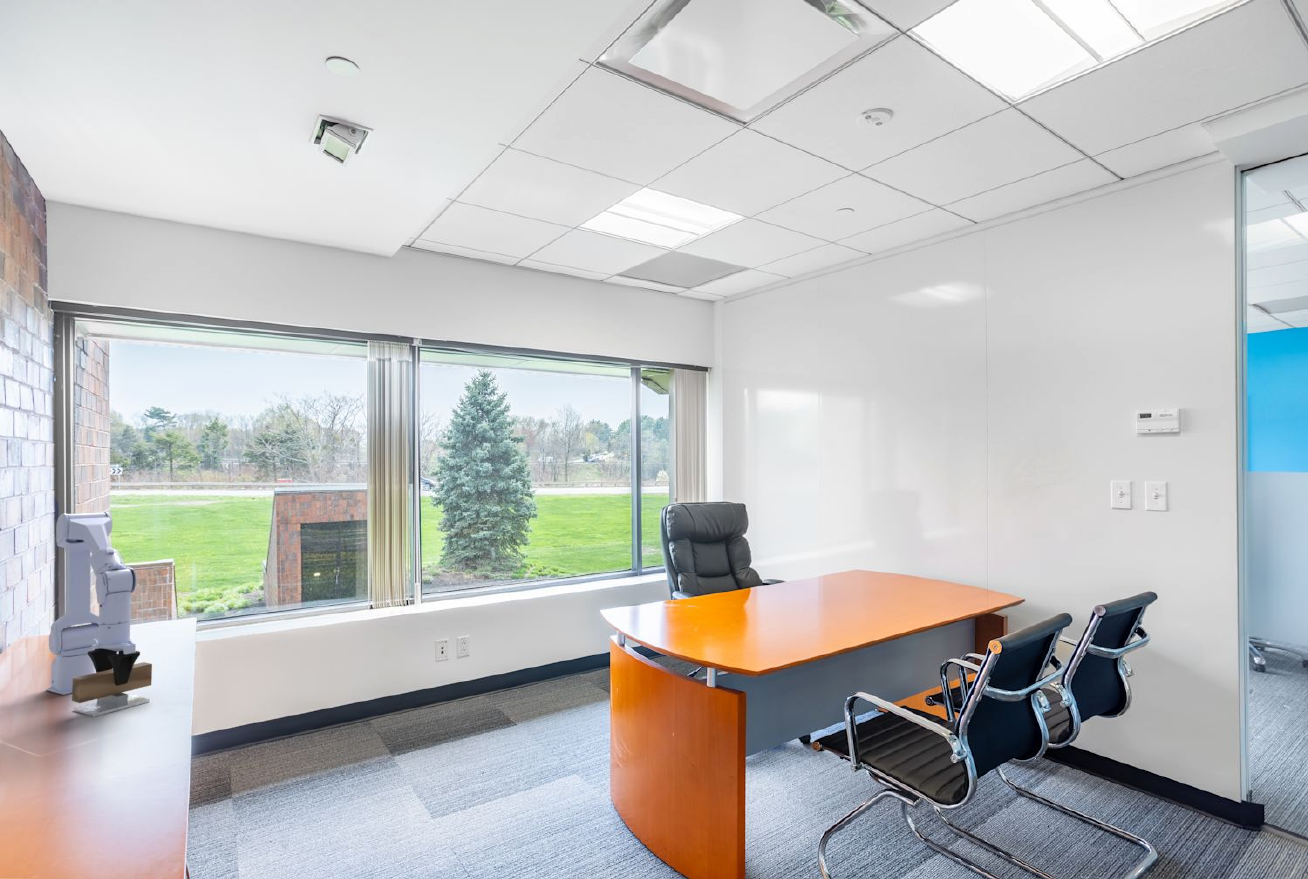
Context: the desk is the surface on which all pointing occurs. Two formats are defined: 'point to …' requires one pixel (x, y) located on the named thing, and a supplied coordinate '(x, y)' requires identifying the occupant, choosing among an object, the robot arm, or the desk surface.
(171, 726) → the desk surface
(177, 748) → the desk surface
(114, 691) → the walnut rod
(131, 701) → the balance stand
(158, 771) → the desk surface
